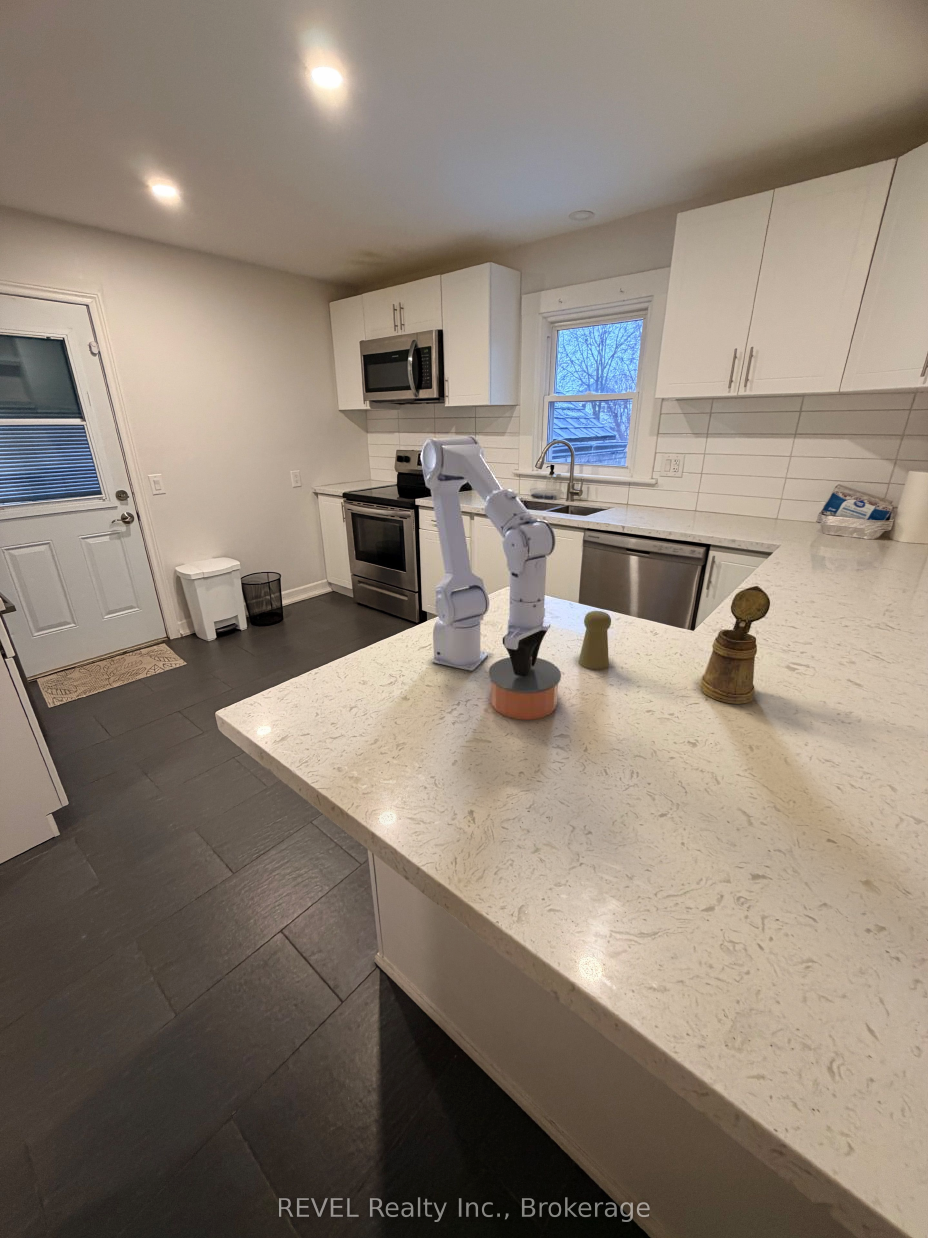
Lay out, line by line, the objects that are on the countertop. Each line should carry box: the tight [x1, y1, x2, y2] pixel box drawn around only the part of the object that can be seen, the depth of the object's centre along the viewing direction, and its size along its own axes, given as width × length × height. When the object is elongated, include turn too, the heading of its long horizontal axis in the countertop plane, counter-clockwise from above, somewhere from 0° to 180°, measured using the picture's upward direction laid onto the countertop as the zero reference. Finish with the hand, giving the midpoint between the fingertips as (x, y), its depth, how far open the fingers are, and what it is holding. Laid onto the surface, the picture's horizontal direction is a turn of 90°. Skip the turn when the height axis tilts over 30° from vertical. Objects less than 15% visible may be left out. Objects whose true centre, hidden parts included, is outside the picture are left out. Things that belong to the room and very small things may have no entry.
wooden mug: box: [699, 585, 771, 705], centre depth 89 cm, size 9×14×18 cm, turn 140°
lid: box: [488, 655, 562, 693], centre depth 86 cm, size 13×13×4 cm
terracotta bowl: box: [490, 680, 559, 721], centre depth 88 cm, size 12×12×5 cm
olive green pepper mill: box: [578, 610, 612, 670], centre depth 100 cm, size 6×6×11 cm
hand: (524, 669), depth 86 cm, fingers open, 3 cm apart
